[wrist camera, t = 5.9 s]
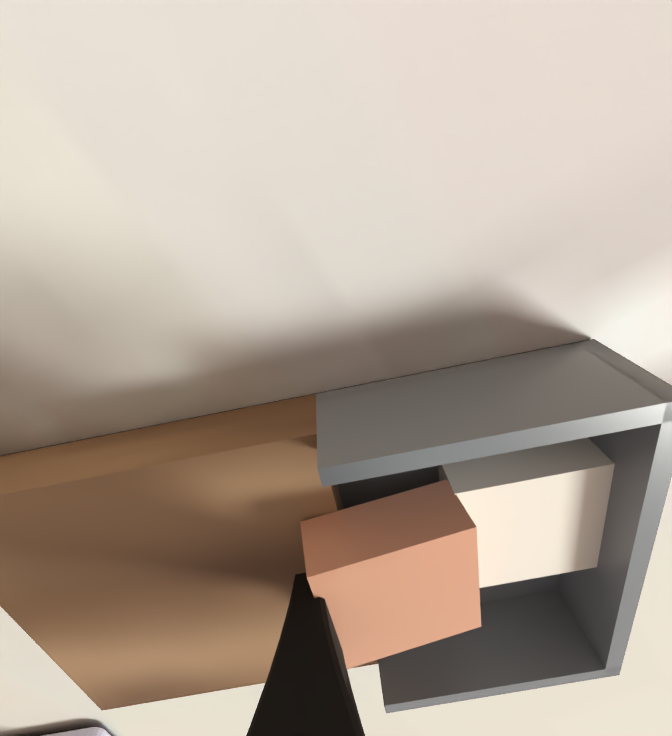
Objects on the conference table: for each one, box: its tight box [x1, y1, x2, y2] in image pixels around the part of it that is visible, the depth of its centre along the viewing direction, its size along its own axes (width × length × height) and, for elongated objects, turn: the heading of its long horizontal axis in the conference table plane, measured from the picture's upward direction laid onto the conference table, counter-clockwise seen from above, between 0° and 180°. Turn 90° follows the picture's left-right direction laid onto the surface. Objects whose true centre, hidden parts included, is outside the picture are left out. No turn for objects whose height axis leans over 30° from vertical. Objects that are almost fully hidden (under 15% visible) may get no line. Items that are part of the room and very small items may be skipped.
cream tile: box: [438, 437, 615, 588], centre depth 11 cm, size 4×4×2 cm
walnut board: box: [0, 394, 378, 710], centre depth 12 cm, size 10×10×2 cm
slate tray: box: [316, 339, 672, 713], centre depth 12 cm, size 10×8×3 cm
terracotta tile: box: [300, 480, 481, 669], centre depth 10 cm, size 4×4×2 cm
